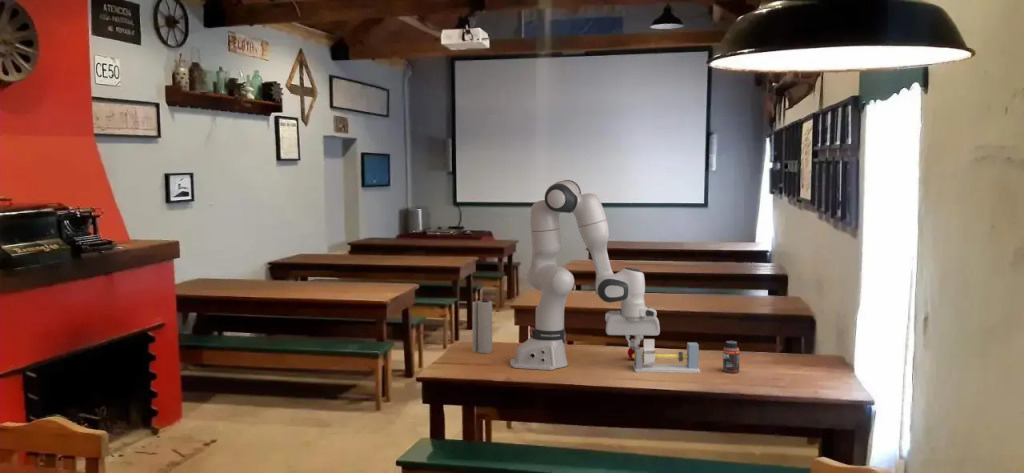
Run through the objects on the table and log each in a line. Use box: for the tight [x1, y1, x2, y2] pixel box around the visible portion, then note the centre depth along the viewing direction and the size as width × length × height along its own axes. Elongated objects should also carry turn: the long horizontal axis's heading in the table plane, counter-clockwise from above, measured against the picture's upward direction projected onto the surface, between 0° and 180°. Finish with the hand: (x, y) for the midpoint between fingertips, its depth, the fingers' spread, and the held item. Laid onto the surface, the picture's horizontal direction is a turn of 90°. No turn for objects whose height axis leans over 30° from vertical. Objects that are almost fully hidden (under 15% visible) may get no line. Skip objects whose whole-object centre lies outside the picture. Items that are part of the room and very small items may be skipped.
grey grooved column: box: [472, 300, 493, 354], centre depth 327 cm, size 7×6×21 cm
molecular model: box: [627, 335, 645, 361], centre depth 314 cm, size 18×6×10 cm, turn 162°
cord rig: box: [632, 341, 701, 374], centre depth 299 cm, size 25×9×10 cm, turn 88°
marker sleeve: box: [642, 338, 656, 365], centre depth 299 cm, size 4×5×9 cm
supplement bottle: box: [722, 340, 740, 374], centre depth 296 cm, size 6×6×11 cm
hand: (632, 346), depth 299 cm, fingers closed
